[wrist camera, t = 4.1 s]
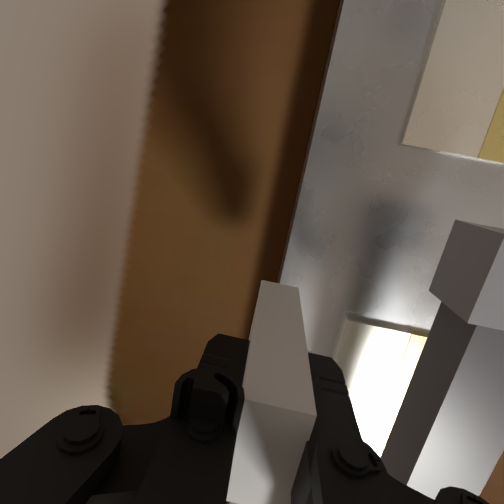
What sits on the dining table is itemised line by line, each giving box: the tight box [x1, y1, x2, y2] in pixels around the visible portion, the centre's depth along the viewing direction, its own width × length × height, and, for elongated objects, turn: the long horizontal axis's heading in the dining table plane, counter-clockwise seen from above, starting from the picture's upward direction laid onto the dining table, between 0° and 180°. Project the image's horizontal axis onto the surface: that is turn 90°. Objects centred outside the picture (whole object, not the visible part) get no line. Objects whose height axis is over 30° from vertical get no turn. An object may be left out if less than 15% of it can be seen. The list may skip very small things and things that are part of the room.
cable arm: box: [380, 219, 504, 500], centre depth 11 cm, size 19×4×2 cm, turn 169°
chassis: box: [229, 0, 504, 504], centre depth 13 cm, size 34×12×6 cm, turn 169°
